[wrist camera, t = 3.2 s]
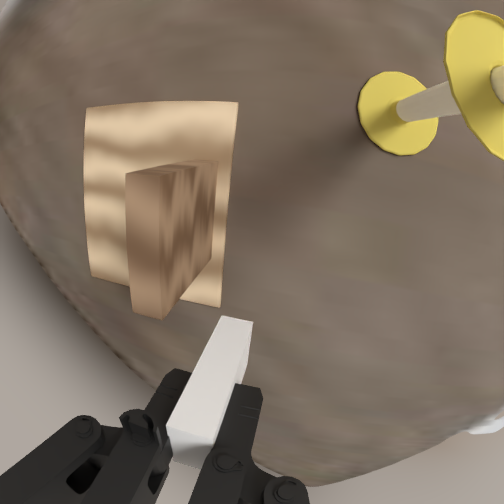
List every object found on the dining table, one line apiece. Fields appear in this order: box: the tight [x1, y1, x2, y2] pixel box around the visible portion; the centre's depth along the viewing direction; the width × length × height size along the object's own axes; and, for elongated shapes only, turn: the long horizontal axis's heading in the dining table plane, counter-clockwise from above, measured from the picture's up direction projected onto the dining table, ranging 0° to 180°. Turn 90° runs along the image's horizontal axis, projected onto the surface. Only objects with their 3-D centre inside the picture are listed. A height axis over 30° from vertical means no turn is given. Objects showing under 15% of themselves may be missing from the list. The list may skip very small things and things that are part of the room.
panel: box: [125, 159, 218, 320], centre depth 28 cm, size 12×3×14 cm, turn 174°
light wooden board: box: [84, 101, 238, 308], centre depth 35 cm, size 26×22×1 cm
